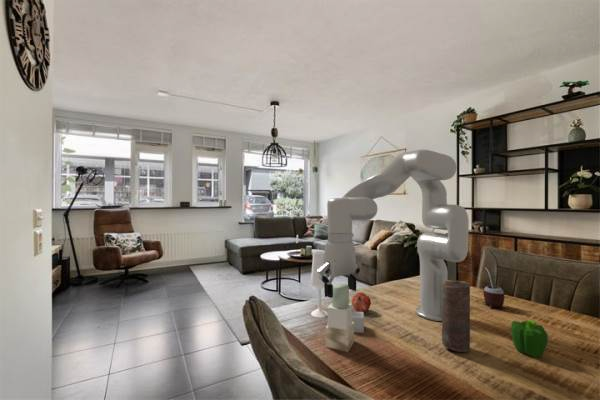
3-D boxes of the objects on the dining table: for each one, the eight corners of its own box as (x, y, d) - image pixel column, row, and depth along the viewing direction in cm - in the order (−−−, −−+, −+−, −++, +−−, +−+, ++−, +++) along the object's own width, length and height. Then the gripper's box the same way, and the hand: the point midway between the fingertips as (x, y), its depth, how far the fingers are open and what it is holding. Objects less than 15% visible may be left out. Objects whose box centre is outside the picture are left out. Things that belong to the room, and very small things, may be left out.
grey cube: (363, 326, 98) (363, 312, 98) (364, 333, 93) (363, 318, 93) (348, 325, 99) (348, 311, 99) (348, 331, 94) (348, 317, 94)
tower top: (351, 322, 88) (351, 303, 87) (346, 331, 82) (346, 310, 82) (333, 319, 90) (333, 300, 90) (327, 327, 85) (327, 307, 85)
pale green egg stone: (350, 303, 87) (350, 284, 87) (346, 310, 83) (345, 290, 82) (335, 301, 89) (335, 282, 89) (329, 307, 85) (329, 287, 85)
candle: (469, 358, 78) (469, 287, 78) (440, 351, 82) (440, 283, 82) (470, 346, 84) (470, 280, 84) (443, 339, 88) (443, 277, 88)
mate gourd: (501, 311, 109) (501, 273, 109) (478, 305, 116) (478, 269, 115) (507, 307, 114) (507, 270, 114) (485, 301, 120) (485, 267, 120)
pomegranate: (354, 311, 116) (344, 302, 110) (361, 295, 118) (352, 285, 112) (370, 319, 110) (360, 310, 104) (377, 302, 113) (368, 292, 107)
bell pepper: (508, 342, 87) (508, 310, 87) (543, 349, 83) (543, 315, 83) (513, 355, 80) (513, 320, 79) (551, 363, 75) (551, 327, 75)
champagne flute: (322, 309, 113) (322, 250, 113) (331, 315, 107) (331, 253, 107) (307, 312, 110) (307, 251, 110) (316, 318, 104) (315, 254, 104)
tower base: (354, 341, 88) (354, 322, 88) (348, 352, 82) (348, 332, 81) (333, 336, 91) (332, 318, 91) (325, 346, 85) (325, 327, 84)
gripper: (351, 234, 94) (352, 284, 94) (310, 239, 84) (311, 295, 84) (368, 236, 88) (369, 290, 88) (326, 242, 78) (327, 303, 78)
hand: (340, 293), depth 86 cm, fingers open, 9 cm apart
